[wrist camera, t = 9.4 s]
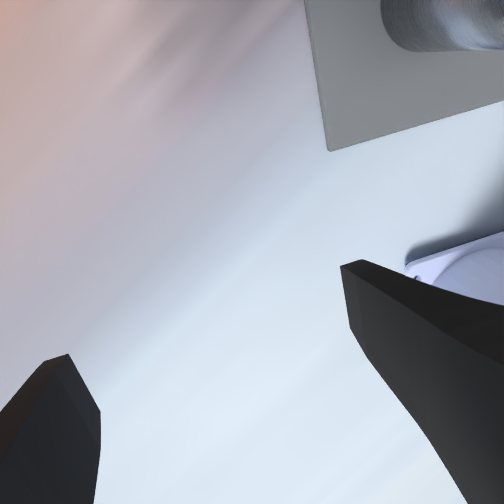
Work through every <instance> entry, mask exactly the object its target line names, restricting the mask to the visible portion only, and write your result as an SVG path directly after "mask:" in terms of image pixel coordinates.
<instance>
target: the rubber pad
mask: <svg viewBox="0 0 504 504" xmlns="http://www.w3.org/2000/svg"><path fill="white" fill-rule="evenodd" d="M380 1H381V0H304V4H305V10H306V16H307V23H308V29H309V36H310V42H311V48H312V55H313V61H314V67H315V74H316V80H317V87H318V93H319V99H320V106H321V112H322V118H323V125H324V131H325V138H326V144H327V150H328V151H330V152H332V151H335V150H338V149H342V148H345V147H349V146H352V145H355V144H359V143H362V142H365V141H369V140H372V139H375V138H379V137H382V136H386V135H389V134H392V133H396V132H399V131H402V130H406V129H409V128H412V127H416V126H419V125H423V124H426V123H429V122H433V121H436V120H439V119H443V118H446V117H450V116H453V115H456V114H460V113H463V112H466V111H470V110H473V109H476V108H480V107H483V106H487V105H490V104H493V103H497V102H500V101H503V100H504V50H485V51H450V52H410V51H407V50H405V49H403V48H401V47H399V46H398V45H397V44H395V43H394V42H393V41H392V39H391V38H390V37H389V35H388V34H387V32H386V30H385V27H384V25H383V21H382V18H381V10H380Z"/></svg>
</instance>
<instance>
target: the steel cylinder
mask: <svg viewBox="0 0 504 504" xmlns="http://www.w3.org/2000/svg"><path fill="white" fill-rule="evenodd" d="M380 10H381V18H382V21H383V25H384V27H385V30H386V32H387V34H388V35H389V37H390V38H391V39H392V41H393V42H394V43H395V44H397V45H398V46H399V47H401V48H403V49H405V50H407V51H410V52H450V51H485V50H504V0H381V1H380Z"/></svg>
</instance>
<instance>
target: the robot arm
mask: <svg viewBox="0 0 504 504" xmlns="http://www.w3.org/2000/svg"><path fill="white" fill-rule="evenodd" d="M340 269H341V276H342V282H343V288H344V294H345V300H346V306H347V312H348V318H349V324H350V329H351V330H352V332H353V334H354V336H355V338H356V339H357V341H358V343H359V345H360V346H361V348H362V350H363V352H364V353H365V355H366V357H367V358H368V360H369V361H370V362H371V364H372V365H373V366H374V368H375V369H376V370H377V372H378V373H379V374H380V376H381V377H382V378H383V380H384V381H385V382H386V383H387V385H388V386H389V387H390V389H391V390H392V391H393V393H394V394H395V395H396V396H397V398H398V399H399V400H400V402H401V403H402V404H403V406H404V407H405V408H406V409H407V411H408V412H409V413H410V415H411V416H412V417H413V419H414V420H415V421H416V422H417V424H418V425H419V427H420V428H421V429H422V431H423V432H424V434H425V435H426V437H427V438H428V439H429V441H430V443H431V444H432V446H433V447H434V449H435V451H436V452H437V454H438V455H439V457H440V459H441V460H442V462H443V464H444V465H445V467H446V468H447V470H448V472H449V473H450V475H451V476H452V478H453V480H454V481H455V483H456V485H457V487H458V488H459V490H460V492H461V493H462V495H463V497H464V498H465V500H466V502H467V503H468V504H504V231H503V232H500V233H497V234H494V235H491V236H488V237H485V238H482V239H479V240H475V241H472V242H469V243H466V244H463V245H460V246H457V247H454V248H451V249H448V250H445V251H442V252H439V253H436V254H433V255H429V256H426V257H423V258H420V259H417V260H414V261H412V262H410V263H408V264H407V265H406V267H405V271H404V273H405V275H403V274H400V273H398V272H395V271H392V270H390V269H387V268H385V267H382V266H380V265H377V264H374V263H372V262H369V261H366V260H363V259H361V260H357V261H354V262H351V263H348V264H345V265H342V266H340ZM415 276H417V278H416V279H413V278H414V277H415ZM100 450H101V416H100V410H99V408H98V406H97V405H96V403H95V401H94V399H93V397H92V396H91V394H90V392H89V390H88V388H87V386H86V385H85V383H84V381H83V379H82V377H81V376H80V374H79V372H78V370H77V368H76V367H75V365H74V363H73V361H72V359H71V357H70V356H69V354H65V355H62V356H59V357H56V358H53V359H50V360H47V361H44V362H43V363H42V364H41V365H40V366H39V367H38V368H37V369H36V370H35V371H34V373H33V374H32V375H31V376H30V377H29V378H28V379H27V381H26V382H25V383H24V384H23V385H22V387H21V388H20V389H19V390H18V391H17V393H16V394H15V395H14V396H13V397H12V399H11V400H10V401H9V402H8V403H7V405H6V406H5V407H4V408H3V409H2V410H1V412H0V504H93V503H94V496H95V489H96V482H97V474H98V467H99V459H100Z"/></svg>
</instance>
